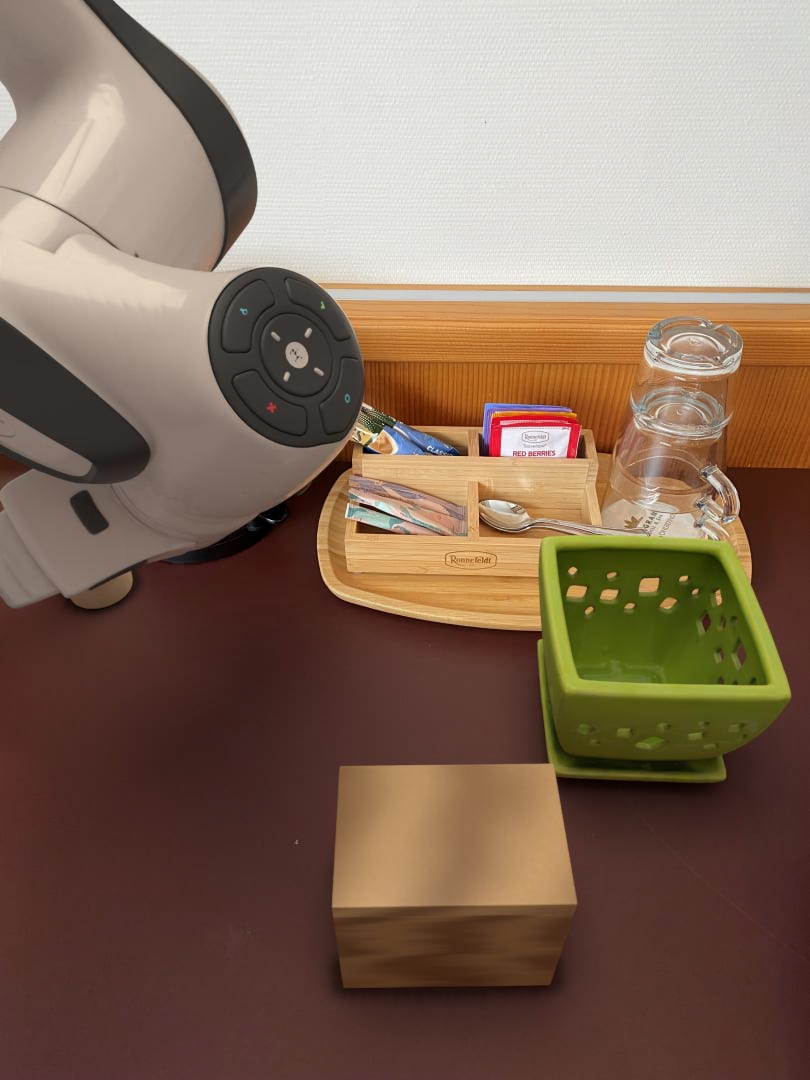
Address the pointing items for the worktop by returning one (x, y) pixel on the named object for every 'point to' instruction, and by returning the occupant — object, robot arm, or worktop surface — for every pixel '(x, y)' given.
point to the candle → (105, 593)
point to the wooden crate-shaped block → (450, 875)
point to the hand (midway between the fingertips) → (128, 520)
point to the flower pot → (651, 659)
